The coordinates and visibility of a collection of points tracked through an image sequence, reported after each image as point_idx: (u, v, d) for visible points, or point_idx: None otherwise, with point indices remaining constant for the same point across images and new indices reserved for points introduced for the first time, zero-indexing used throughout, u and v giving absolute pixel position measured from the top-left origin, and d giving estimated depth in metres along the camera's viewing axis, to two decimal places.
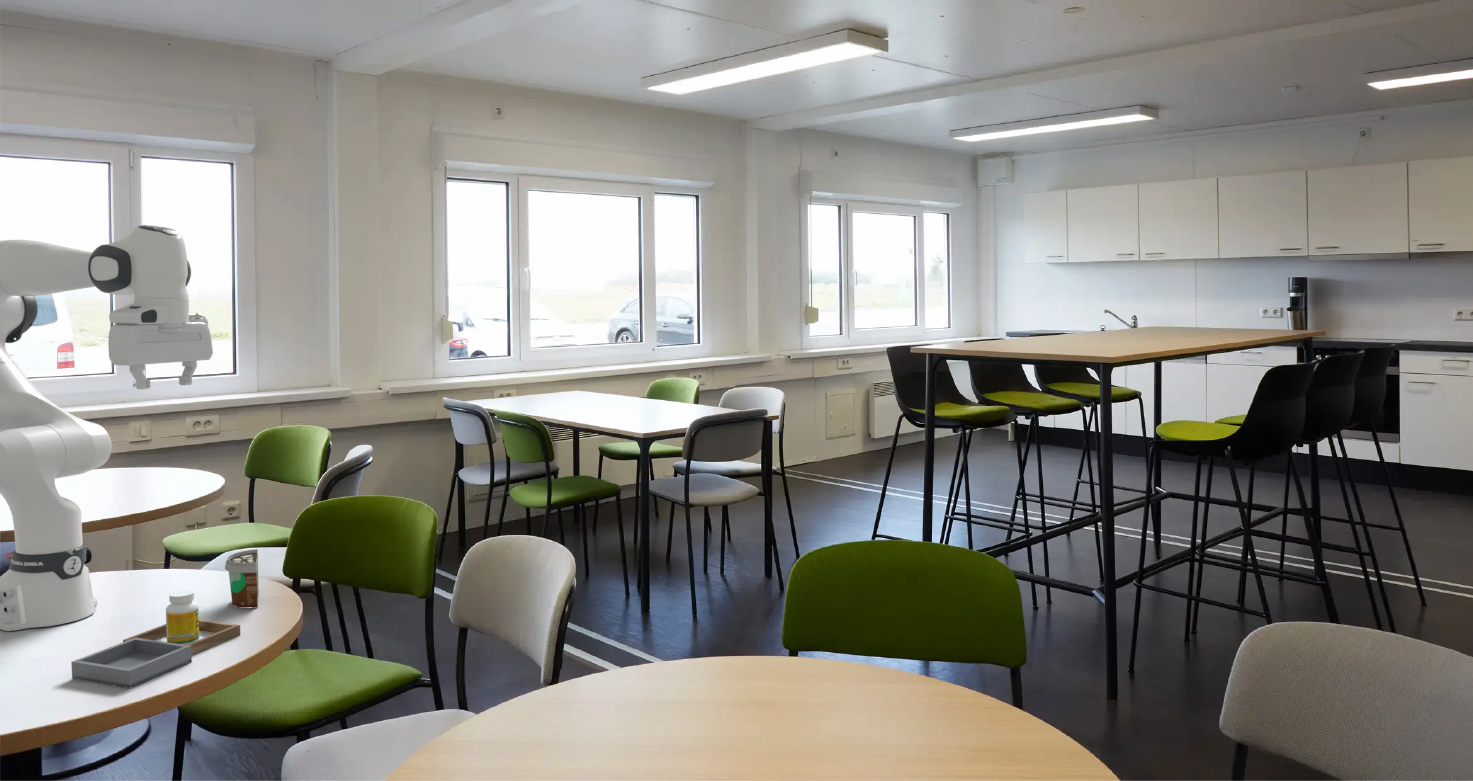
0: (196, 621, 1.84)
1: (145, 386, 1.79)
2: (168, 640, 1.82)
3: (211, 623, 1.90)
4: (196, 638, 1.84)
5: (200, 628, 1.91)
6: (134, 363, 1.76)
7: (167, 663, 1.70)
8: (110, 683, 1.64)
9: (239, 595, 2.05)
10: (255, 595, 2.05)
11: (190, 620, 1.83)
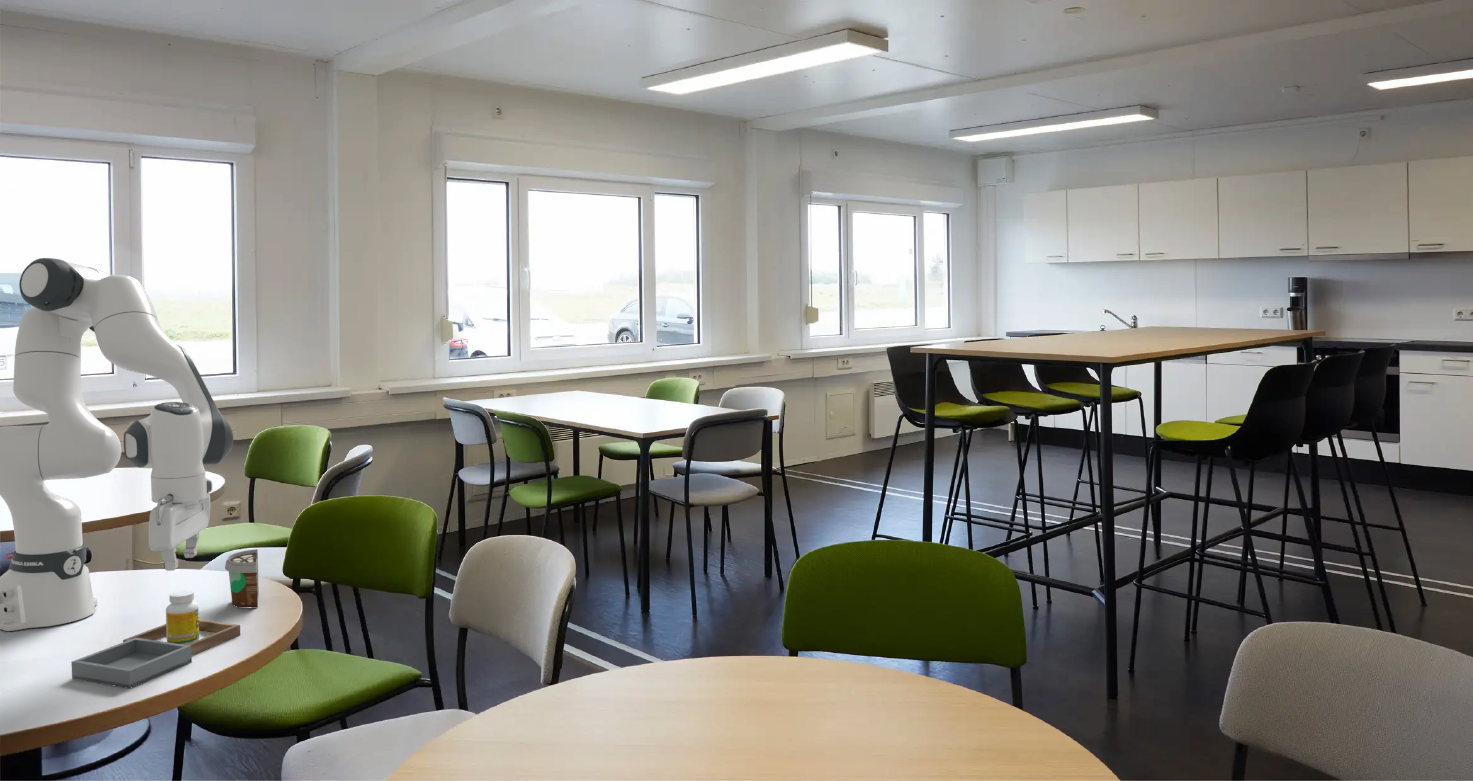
0: (196, 621, 1.84)
1: None
2: (168, 640, 1.82)
3: (211, 623, 1.90)
4: (196, 638, 1.84)
5: (200, 628, 1.91)
6: None
7: (167, 663, 1.70)
8: (110, 683, 1.64)
9: (239, 595, 2.05)
10: (255, 595, 2.05)
11: (190, 620, 1.83)
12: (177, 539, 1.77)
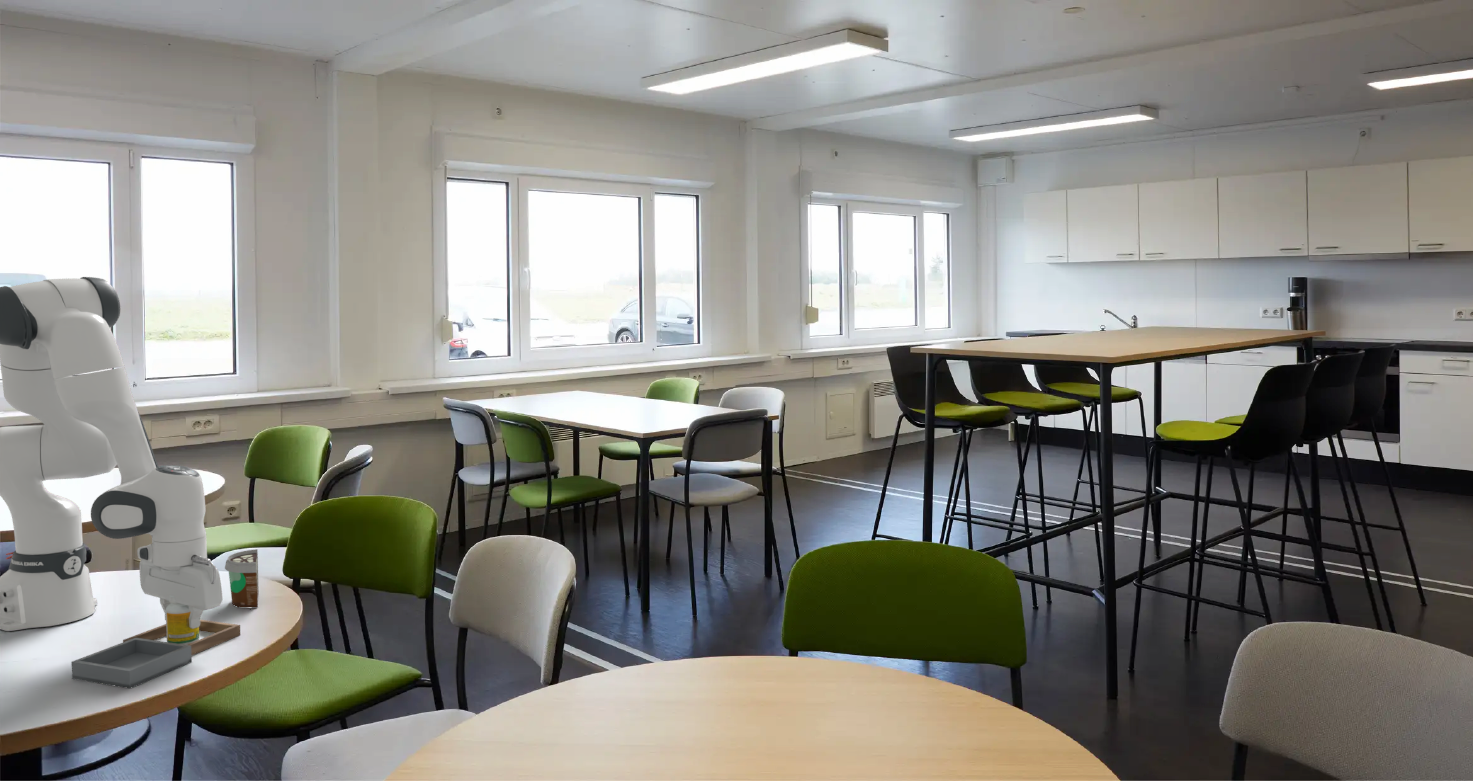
0: None
1: None
2: (168, 640, 1.82)
3: (211, 623, 1.90)
4: (196, 638, 1.84)
5: (200, 628, 1.91)
6: (147, 593, 1.86)
7: (167, 663, 1.70)
8: (110, 683, 1.64)
9: (239, 595, 2.05)
10: (255, 595, 2.05)
11: None
12: None
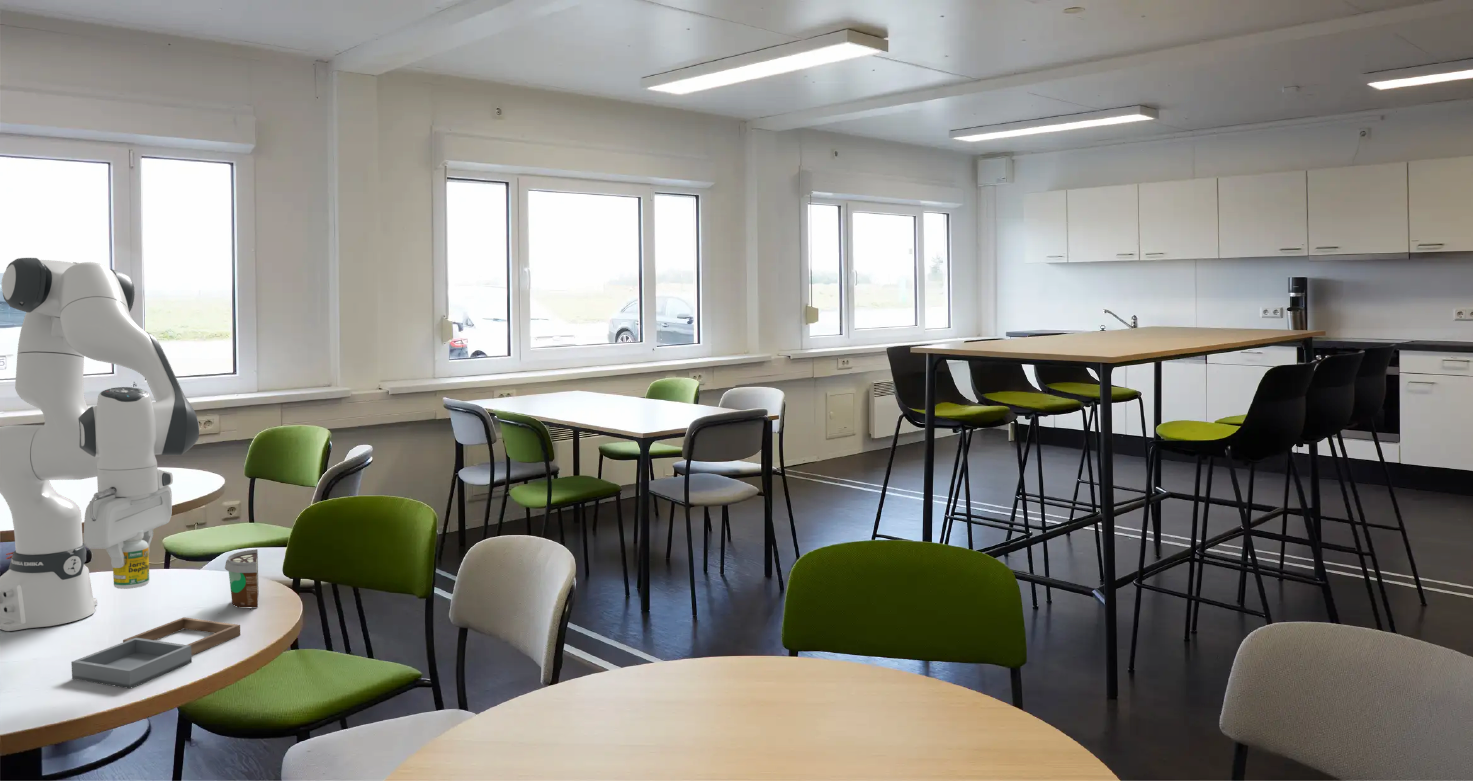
0: (130, 564, 1.67)
1: None
2: None
3: (211, 623, 1.90)
4: (129, 583, 1.67)
5: (200, 628, 1.91)
6: None
7: (167, 663, 1.70)
8: (110, 683, 1.64)
9: (239, 595, 2.05)
10: (255, 595, 2.05)
11: None
12: (118, 536, 1.63)
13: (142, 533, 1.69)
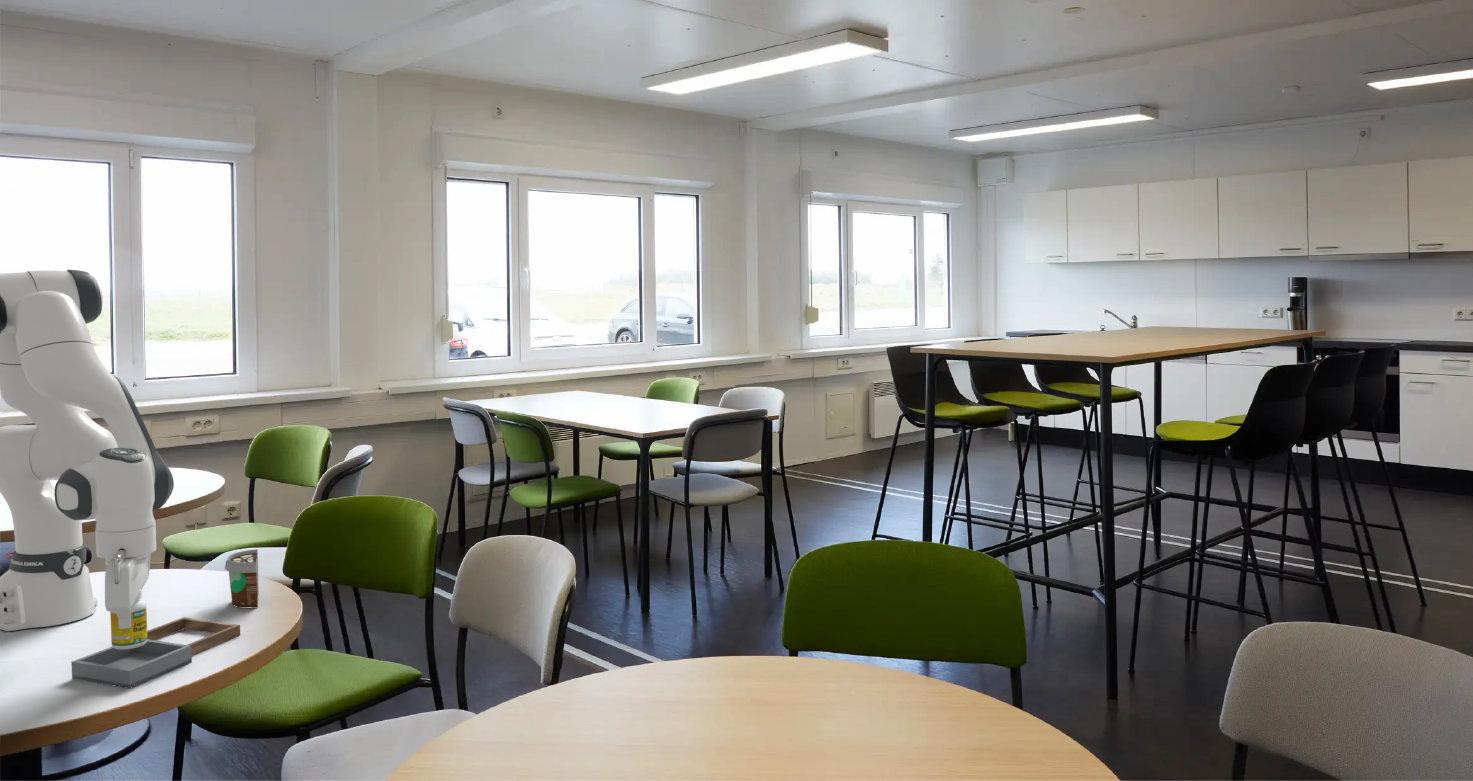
0: (135, 624, 1.68)
1: None
2: None
3: (211, 623, 1.90)
4: (134, 643, 1.68)
5: (200, 628, 1.91)
6: None
7: (167, 663, 1.70)
8: (110, 683, 1.64)
9: (239, 595, 2.05)
10: (255, 595, 2.05)
11: None
12: (133, 597, 1.64)
13: (141, 592, 1.70)
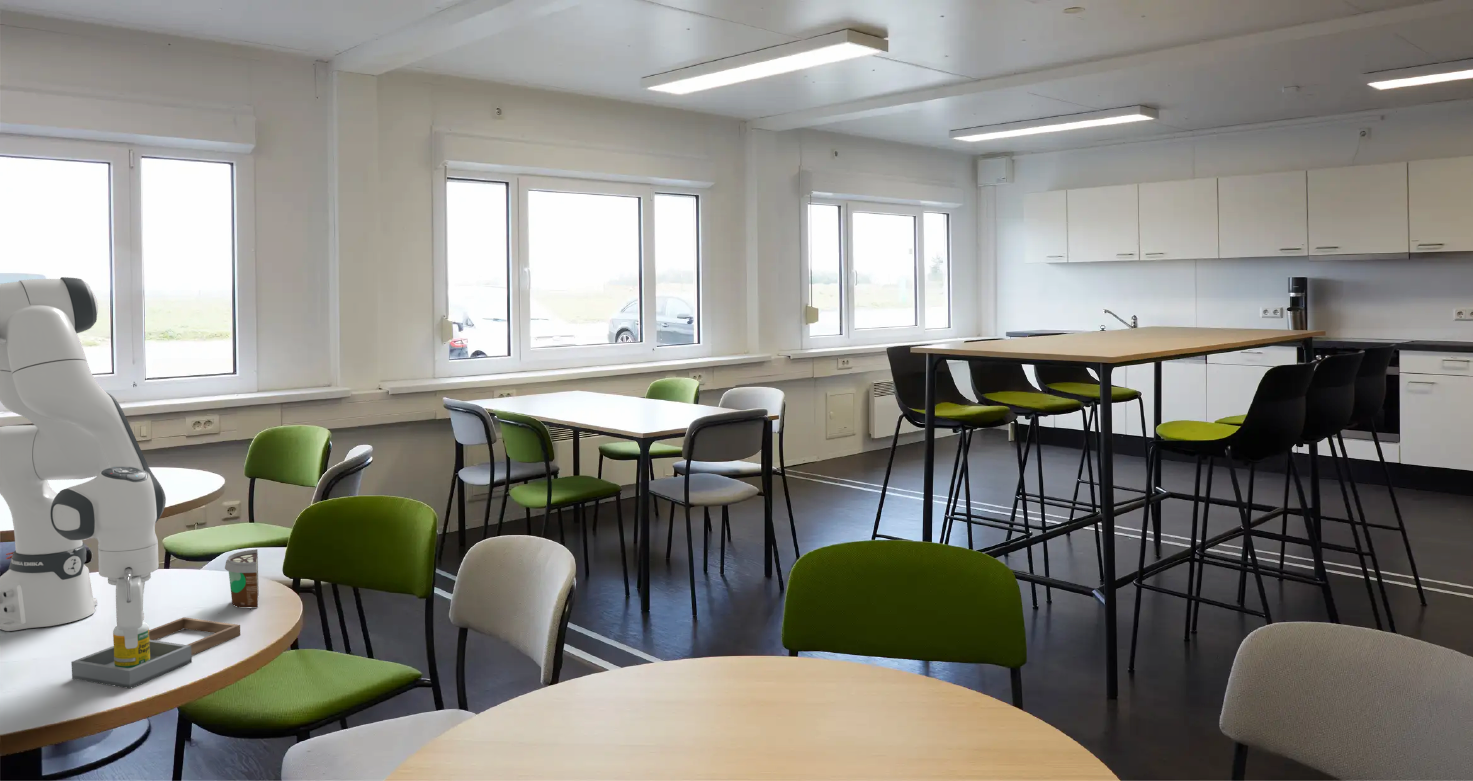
0: (140, 646, 1.69)
1: None
2: None
3: (211, 623, 1.90)
4: (139, 664, 1.69)
5: (200, 628, 1.91)
6: None
7: (167, 663, 1.70)
8: (110, 683, 1.64)
9: (239, 595, 2.05)
10: (255, 595, 2.05)
11: None
12: None
13: None
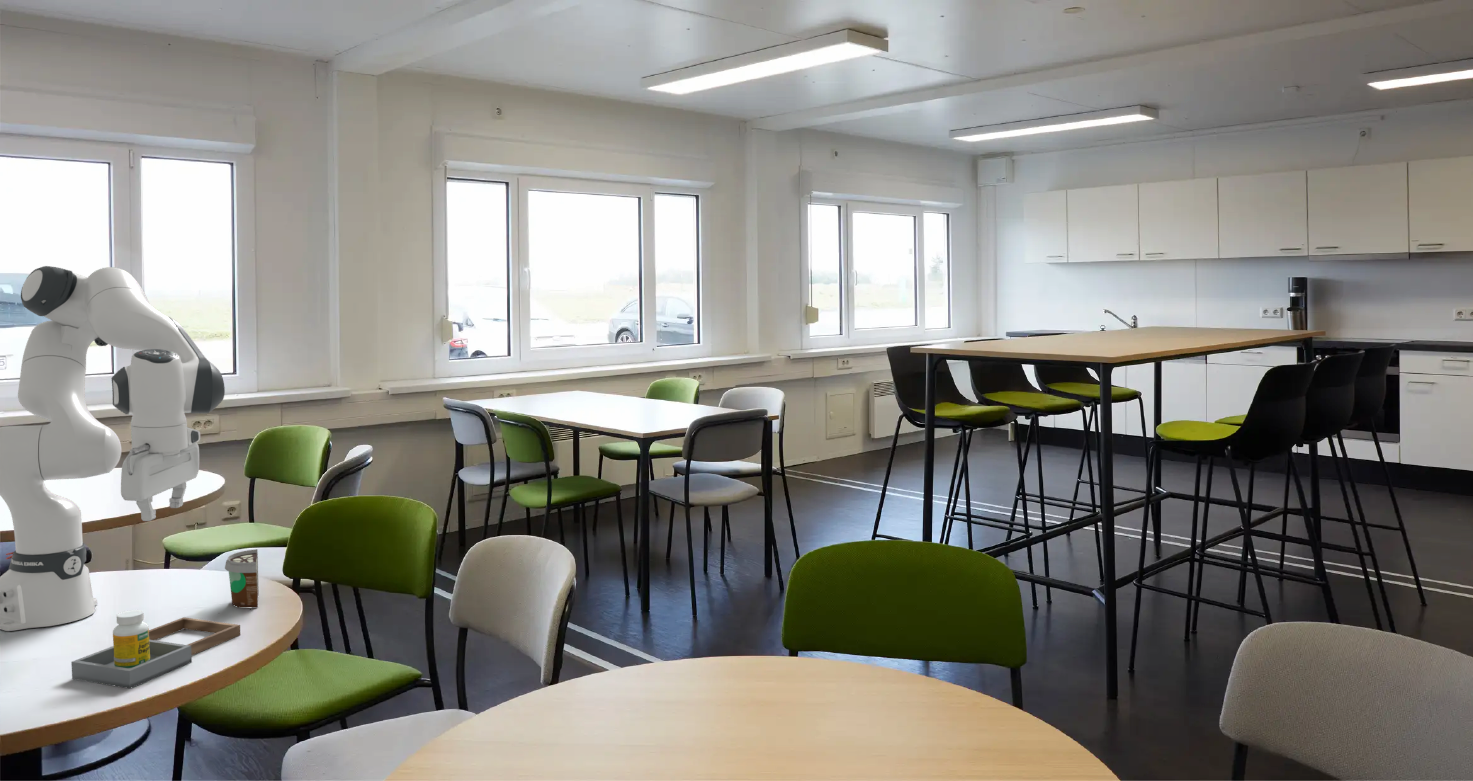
0: (139, 646, 1.69)
1: None
2: None
3: (211, 623, 1.90)
4: None
5: (200, 628, 1.91)
6: None
7: (167, 663, 1.70)
8: (110, 683, 1.64)
9: (239, 595, 2.05)
10: (255, 595, 2.05)
11: (129, 644, 1.68)
12: (152, 490, 1.73)
13: None
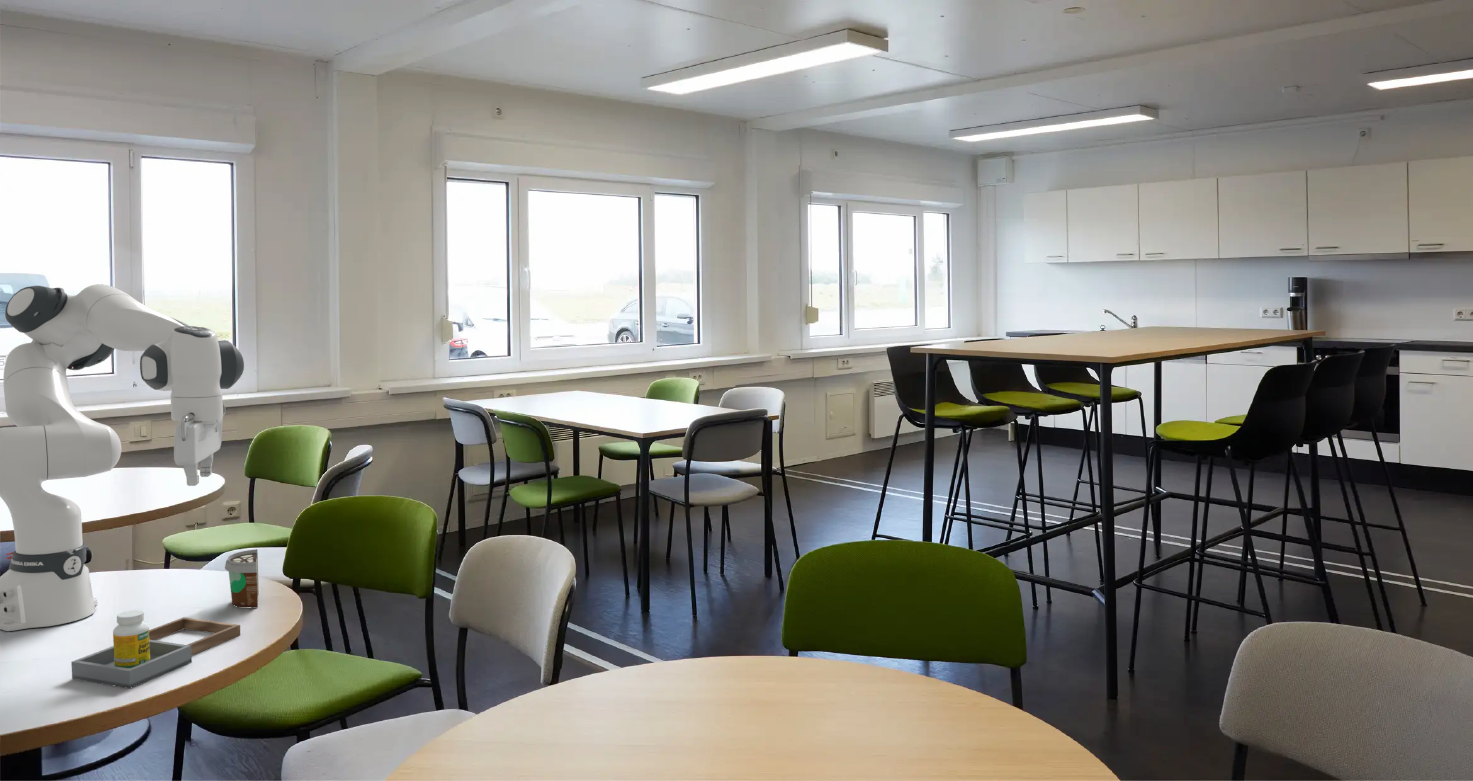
0: (140, 646, 1.69)
1: None
2: None
3: (211, 623, 1.90)
4: None
5: (200, 628, 1.91)
6: None
7: (167, 663, 1.70)
8: (110, 683, 1.64)
9: (239, 595, 2.05)
10: (255, 595, 2.05)
11: (129, 644, 1.68)
12: (200, 455, 1.85)
13: (143, 614, 1.71)
